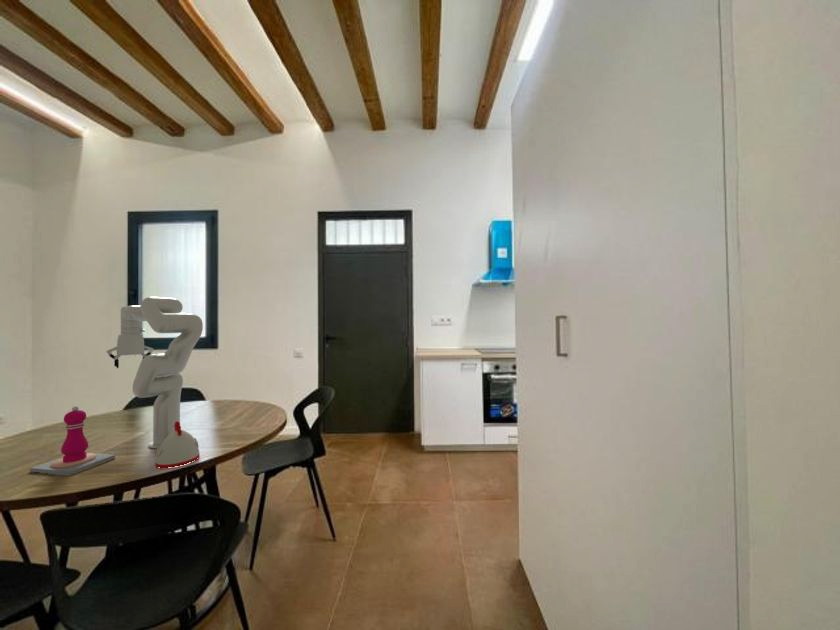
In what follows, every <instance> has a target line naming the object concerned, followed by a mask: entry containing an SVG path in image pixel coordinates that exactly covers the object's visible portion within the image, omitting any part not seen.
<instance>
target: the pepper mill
mask: <svg viewBox="0 0 840 630" xmlns="http://www.w3.org/2000/svg"><path fill="white" fill-rule="evenodd" d="M86 418H87V414H86V412H85V411H84V410H81V409H79V406H73V407H71V411H68V412H67V413H66V414H65V415H64V417H63V422H64V423H65V430H66V433H67V434H66V437H65V440H64V442H63V444H62V445H61V449H60V453H61V454H63V456H62V457H63V462H64V463H69V462H75V461H79V460H82V459H84V458H86V457H87V453H88V452H87V451H86V450H87V449H88V448H89V442H88V439H87V438H86V437H85V434H84V431H83V429H84V428H83V427H85V420H86ZM86 452H87V453H86Z"/></svg>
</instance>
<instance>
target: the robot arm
mask: <svg viewBox="0 0 840 630" xmlns="http://www.w3.org/2000/svg"><path fill="white" fill-rule="evenodd" d="M183 307H184V306H183V304H182V302H181V301H180V300H178V299H177V298H174V297H165V296H164V297H162V296H161V297H160V296H148V297H145V298H144V299H143V300H142V301H141V302H140V305H137V304H136V305H127V306H126V305H125V306H122V307H121V308H120V334H118V335H117V340H116V346H115V347H113V348H109V349H107V350H106V354H107V355H108V356H109V357H110V358H111V359H113V360H114V367H116V369H119V358H120V357H121V356H134V355H135V356H136V355H141V356H142V360H141V361H140V363H139V366H138V368H137V371H136V374H135V377H134V380H133V383H132V393H133V395H134V396H135V397H137V398H140V399H142V398H144V399H145V398H151V397H156V396H157V398H156V399H155V401H154V403H153V407H152V408H153V411H152V427H153V428H152V429H153V430H152V438H153V439H152V441H150V442H149V443H148V448H150V449H157V448H158V446H160V445H161V444H162V442H163V441H164V440H165V438H166V437H167V436H168V435H170V434H171V433H172V432H174V431H175V426H174V424H175V422H177V421H178V422H179V423H180V424H181V395H182V394H181V393H182V387H183V383H184V378H183V376H182V374H181V372H183V371H184V370H185V369H186V366H187V364H188V362H189V359H190V356H191V354H192V351H193V349H194V347H196V345H197V343H198V341H199V340H200V338H201V336H202V333H203V328H204V327H203V325H204V324H203V319H202V318H201V317H200V316H199V315H197V314H195V313H188V312H187V313H186V312H182V311H183V309H184V308H183ZM142 322H147V323H148V325H149V326H150V328H151V330H153V331H154V332H156V333H158V334H179V335H178V336H176V337H175V338H174V339H173V340H171V342H170V343H169V345H168V347H167V350H166V351H165V352H160V353H153V351H154V348H153V347H150V346H147V345H145V339H144V335H143V334H142V333H144V332H146V331H145V328H142ZM145 349H146V350H148V352H147V353H146V354H145ZM115 351H116V355H114V354H113V353H112V352H115Z"/></svg>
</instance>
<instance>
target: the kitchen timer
mask: <svg viewBox="0 0 840 630" xmlns="http://www.w3.org/2000/svg"><path fill="white" fill-rule="evenodd" d="M174 426H175V431H174V432H172V433H171V434H170V435H168V436H167V437H166V438H165V440H164V441H163V442H162V444H161V445H160V446H158V448H156V454H155V466H156V467H160V468H168V467H175V466H180V465H184V464H187V463H189V462H192V461H194V460H196V459H197V458H198V457H199V458H200V450H199V443H198V439H197V438H195V437H194V436H193V435H192V434H191V433H189V432H187V431H186V430H183V429H182V426H181V422H180V423H179V422H178V421H177V422H175V424H174ZM156 467H155V468H156Z"/></svg>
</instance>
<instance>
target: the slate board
mask: <svg viewBox="0 0 840 630" xmlns="http://www.w3.org/2000/svg"><path fill="white" fill-rule="evenodd" d="M85 452H86V453H87V457H86V458H84V459H82V460H79V461H75V462H69V463H64V462H63V457H64V456H62V457H60V458H56V459H54V460H50V461H47V462H45V463H40V464H38V465H35V466H31V467H29V473H34V472H40V473H39V474H44V473H48V475H53V474H54V475H56V476H66V477H70V476H72V475H75V474H78V473H81V472H83V471H85V470H89V469H91V468H94V467H97V466H99V465H102V464H104V462H105V463H107V461H108V462H110V461H113V460H115V459H116V454H109V453H108V454H107V453H98V452H87V451H85ZM112 459H113V460H112Z"/></svg>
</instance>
